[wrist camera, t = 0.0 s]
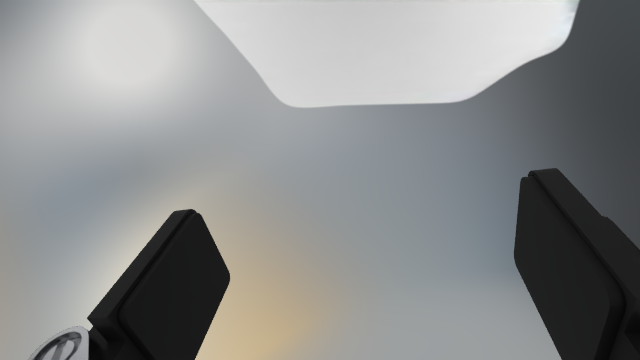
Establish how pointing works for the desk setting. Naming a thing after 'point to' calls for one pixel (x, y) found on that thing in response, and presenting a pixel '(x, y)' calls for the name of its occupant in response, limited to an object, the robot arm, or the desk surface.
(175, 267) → the robot arm
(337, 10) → the desk surface
